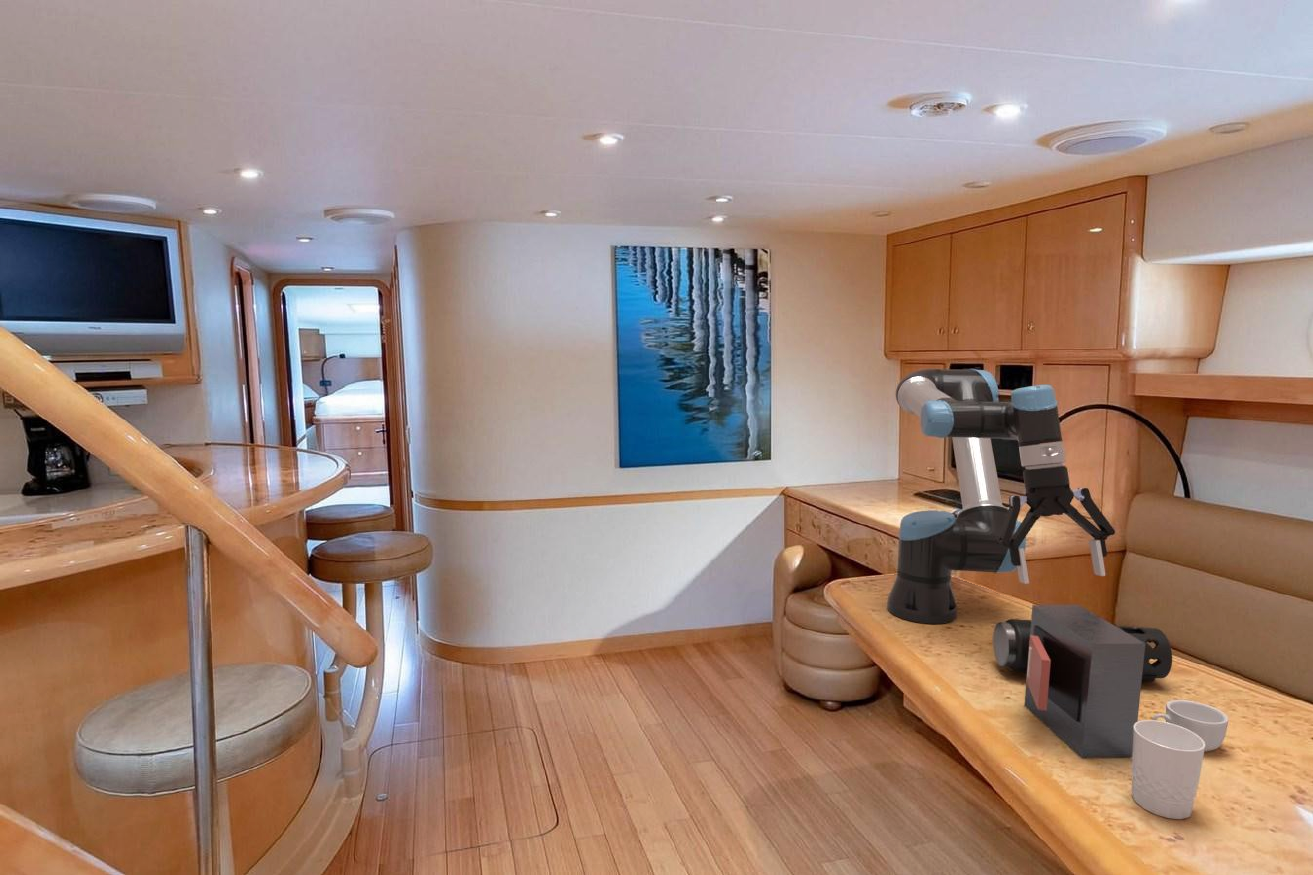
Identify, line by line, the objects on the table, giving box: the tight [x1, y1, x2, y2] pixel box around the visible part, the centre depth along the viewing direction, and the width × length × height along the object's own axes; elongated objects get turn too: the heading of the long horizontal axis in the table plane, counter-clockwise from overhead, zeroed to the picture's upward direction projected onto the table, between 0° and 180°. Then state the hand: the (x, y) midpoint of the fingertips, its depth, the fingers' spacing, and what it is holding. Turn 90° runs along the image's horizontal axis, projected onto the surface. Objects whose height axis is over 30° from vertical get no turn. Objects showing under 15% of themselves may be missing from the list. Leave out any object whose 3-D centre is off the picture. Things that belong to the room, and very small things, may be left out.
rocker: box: [1025, 635, 1051, 711], centre depth 116 cm, size 10×1×8 cm, turn 162°
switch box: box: [1023, 604, 1145, 759], centre depth 116 cm, size 16×8×18 cm, turn 2°
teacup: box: [1152, 699, 1229, 752], centre depth 114 cm, size 10×8×5 cm
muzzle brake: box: [992, 618, 1173, 682], centre depth 136 cm, size 10×28×10 cm, turn 83°
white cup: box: [1131, 719, 1205, 820], centre depth 98 cm, size 8×8×10 cm
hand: (1062, 579), depth 137 cm, fingers open, 13 cm apart
